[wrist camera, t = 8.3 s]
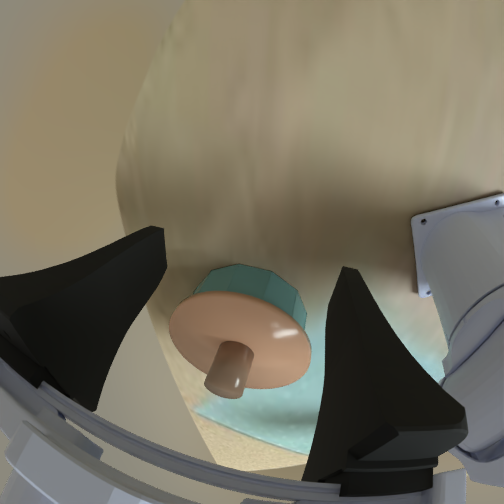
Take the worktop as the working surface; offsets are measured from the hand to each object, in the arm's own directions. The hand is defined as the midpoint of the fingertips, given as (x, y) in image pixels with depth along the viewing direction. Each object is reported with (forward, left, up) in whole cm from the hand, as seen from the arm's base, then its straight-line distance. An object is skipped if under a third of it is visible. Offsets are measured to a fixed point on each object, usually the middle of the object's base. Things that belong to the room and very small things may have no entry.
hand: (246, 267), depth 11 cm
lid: (+8, +12, -6) cm, 16 cm away
